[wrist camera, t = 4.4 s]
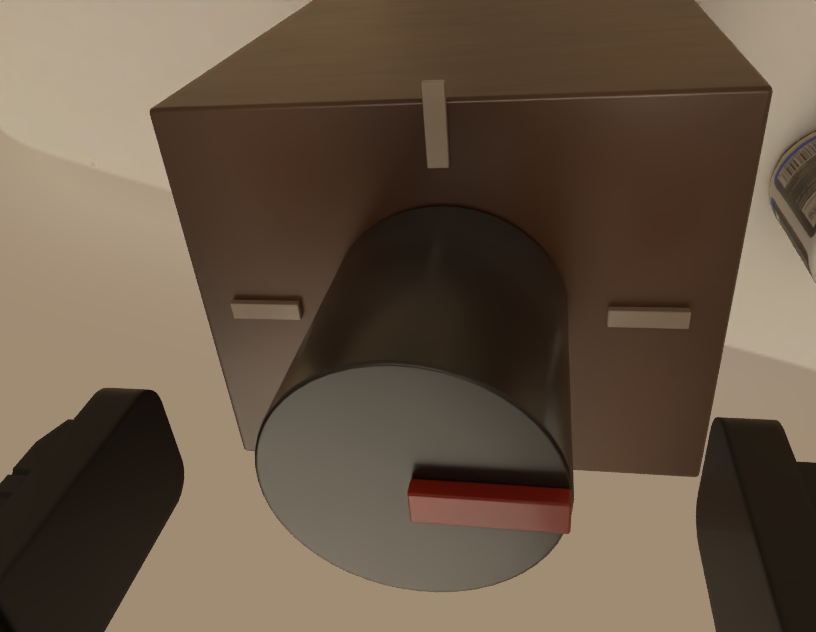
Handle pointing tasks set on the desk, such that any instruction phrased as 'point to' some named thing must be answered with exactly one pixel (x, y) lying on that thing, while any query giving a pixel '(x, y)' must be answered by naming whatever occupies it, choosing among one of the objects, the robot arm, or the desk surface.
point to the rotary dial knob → (428, 408)
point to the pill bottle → (797, 198)
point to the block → (485, 185)
